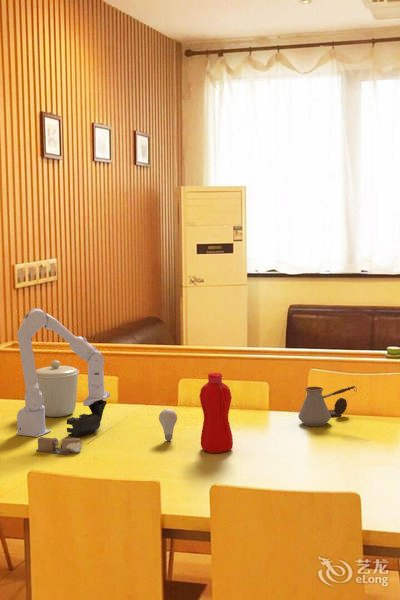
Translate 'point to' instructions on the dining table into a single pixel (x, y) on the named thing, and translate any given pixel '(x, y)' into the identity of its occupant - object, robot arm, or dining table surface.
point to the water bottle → (216, 415)
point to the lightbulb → (168, 422)
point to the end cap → (83, 425)
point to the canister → (58, 389)
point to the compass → (339, 407)
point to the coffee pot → (316, 406)
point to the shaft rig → (51, 444)
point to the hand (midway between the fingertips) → (97, 421)
